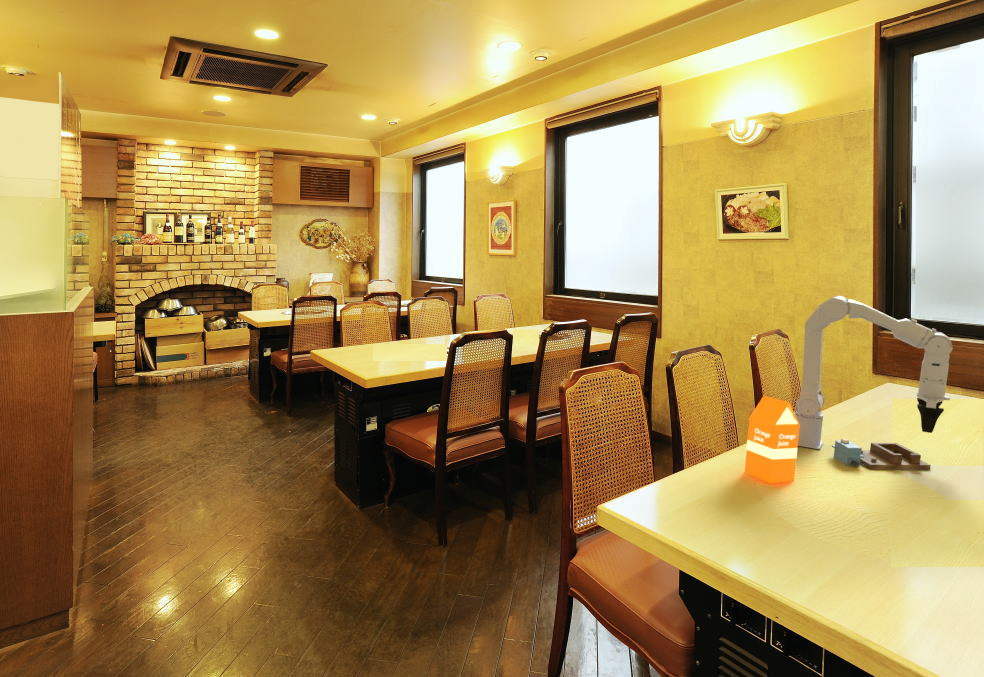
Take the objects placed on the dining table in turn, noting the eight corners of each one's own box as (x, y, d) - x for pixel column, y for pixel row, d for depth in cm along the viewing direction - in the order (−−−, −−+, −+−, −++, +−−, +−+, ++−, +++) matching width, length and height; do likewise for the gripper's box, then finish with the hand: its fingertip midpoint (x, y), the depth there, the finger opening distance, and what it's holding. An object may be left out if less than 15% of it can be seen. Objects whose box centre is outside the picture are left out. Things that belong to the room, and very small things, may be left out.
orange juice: (767, 470, 157) (775, 395, 156) (794, 481, 149) (802, 402, 147) (743, 472, 155) (750, 395, 153) (769, 483, 147) (777, 403, 145)
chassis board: (869, 468, 158) (871, 455, 158) (845, 454, 169) (846, 441, 168) (930, 469, 158) (931, 456, 158) (901, 454, 169) (903, 442, 169)
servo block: (862, 467, 159) (865, 447, 158) (849, 467, 159) (851, 447, 158) (843, 456, 168) (845, 436, 167) (830, 456, 168) (833, 436, 167)
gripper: (953, 386, 150) (946, 438, 152) (950, 376, 162) (944, 424, 164) (919, 382, 154) (912, 433, 156) (918, 372, 166) (912, 419, 168)
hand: (926, 428), depth 160 cm, fingers open, 7 cm apart
